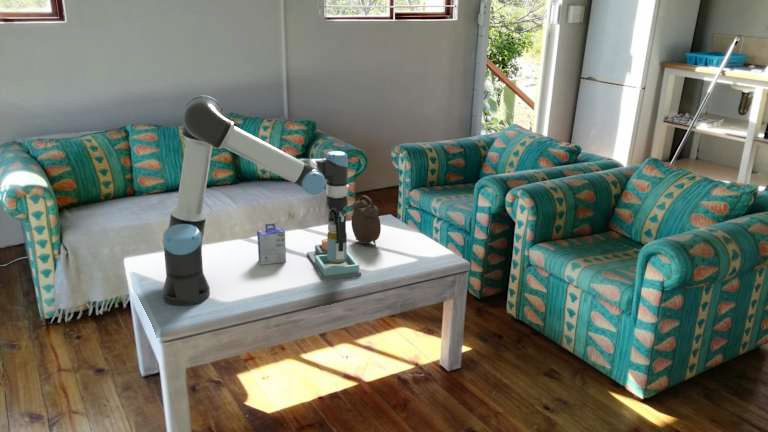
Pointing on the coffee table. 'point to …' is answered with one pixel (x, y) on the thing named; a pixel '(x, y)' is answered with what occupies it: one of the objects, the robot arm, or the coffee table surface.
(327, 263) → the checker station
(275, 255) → the ink cartridge box
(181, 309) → the coffee table surface
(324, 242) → the button
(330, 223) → the bottle
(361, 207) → the alarm clock
